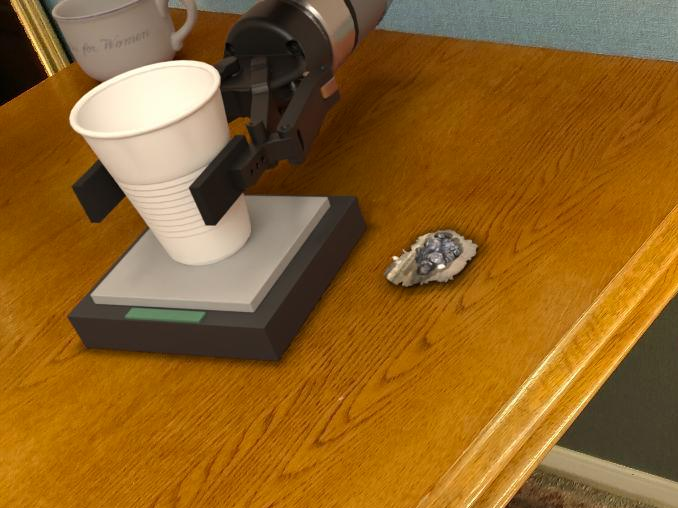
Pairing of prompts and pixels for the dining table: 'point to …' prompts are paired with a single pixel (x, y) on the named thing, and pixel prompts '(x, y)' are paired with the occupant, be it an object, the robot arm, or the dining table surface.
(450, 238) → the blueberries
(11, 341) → the dining table surface
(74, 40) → the teacup
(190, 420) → the dining table surface
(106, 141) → the cup
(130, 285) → the scale
